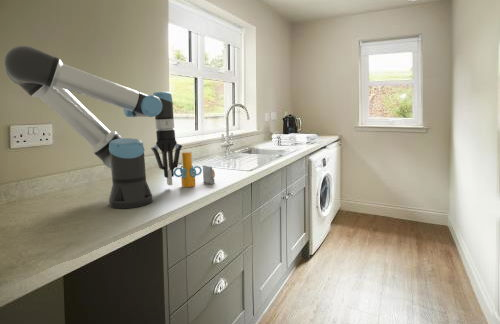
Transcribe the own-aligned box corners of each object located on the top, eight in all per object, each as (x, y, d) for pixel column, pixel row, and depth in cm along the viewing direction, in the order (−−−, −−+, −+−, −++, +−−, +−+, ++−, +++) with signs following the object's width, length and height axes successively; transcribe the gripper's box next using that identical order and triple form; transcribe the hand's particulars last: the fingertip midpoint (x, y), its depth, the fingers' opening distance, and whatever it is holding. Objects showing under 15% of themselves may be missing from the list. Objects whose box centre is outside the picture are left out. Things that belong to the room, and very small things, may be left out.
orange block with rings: (194, 189, 147) (192, 154, 145) (171, 188, 150) (169, 154, 148) (204, 183, 159) (203, 150, 157) (183, 182, 162) (181, 150, 159)
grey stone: (210, 184, 156) (209, 167, 154) (203, 181, 162) (202, 164, 161) (216, 183, 157) (216, 166, 156) (209, 180, 164) (208, 164, 163)
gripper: (152, 131, 140) (157, 188, 144) (183, 128, 146) (187, 183, 150) (147, 130, 146) (152, 185, 150) (177, 128, 153) (181, 180, 157)
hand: (169, 184), depth 150 cm, fingers closed
